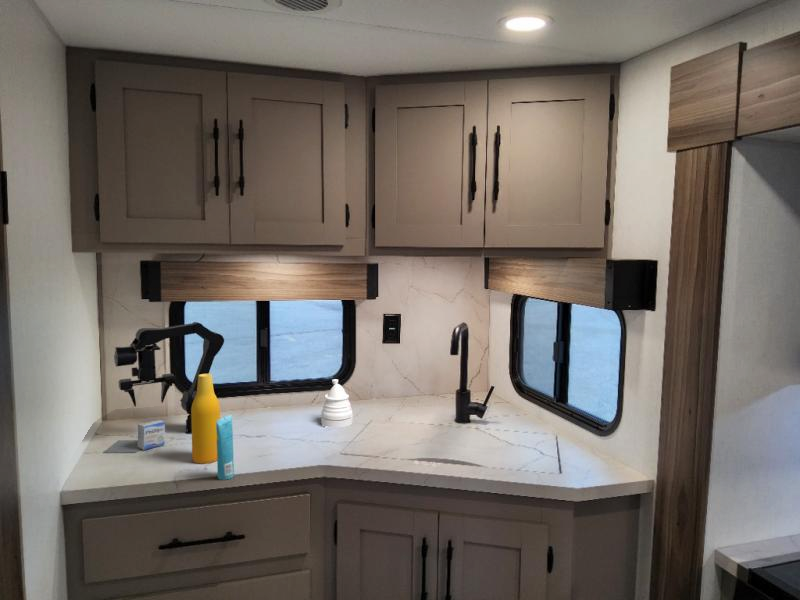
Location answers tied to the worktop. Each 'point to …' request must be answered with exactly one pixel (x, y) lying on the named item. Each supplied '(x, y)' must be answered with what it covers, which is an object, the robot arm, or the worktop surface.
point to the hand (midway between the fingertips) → (148, 404)
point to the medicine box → (151, 434)
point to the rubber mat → (123, 447)
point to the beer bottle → (204, 421)
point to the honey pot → (337, 408)
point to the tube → (225, 448)
